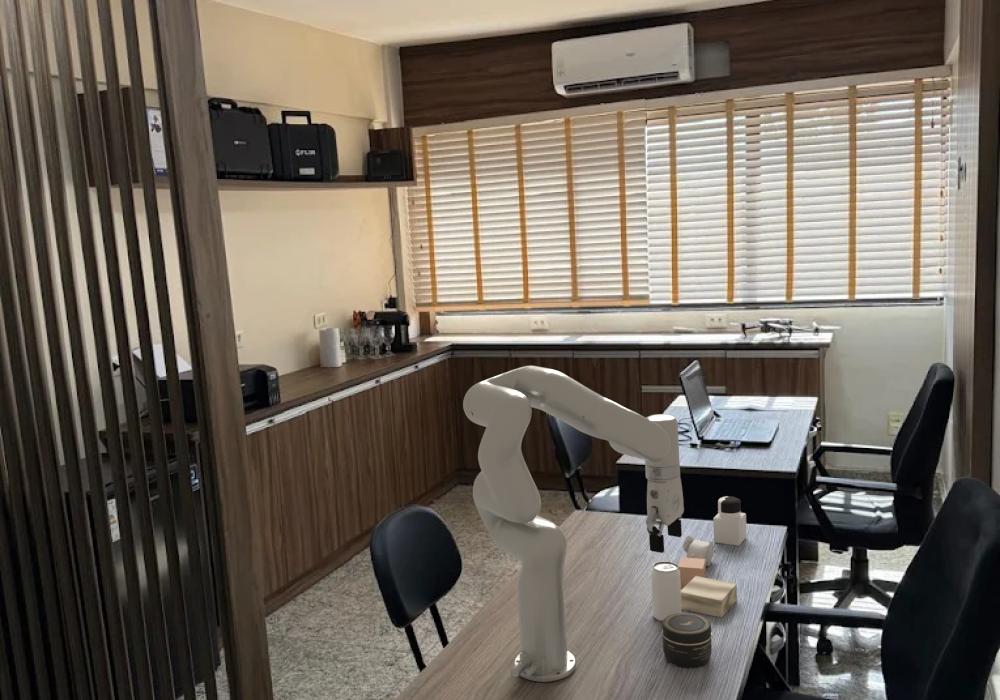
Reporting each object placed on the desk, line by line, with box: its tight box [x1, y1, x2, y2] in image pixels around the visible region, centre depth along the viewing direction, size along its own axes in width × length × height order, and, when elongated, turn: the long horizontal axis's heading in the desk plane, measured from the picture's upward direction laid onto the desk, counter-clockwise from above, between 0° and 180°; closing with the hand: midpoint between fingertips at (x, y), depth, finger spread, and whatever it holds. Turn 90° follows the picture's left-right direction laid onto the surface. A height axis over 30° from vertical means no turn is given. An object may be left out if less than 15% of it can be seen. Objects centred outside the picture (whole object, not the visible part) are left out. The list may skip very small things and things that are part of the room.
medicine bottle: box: [712, 495, 747, 547], centre depth 234 cm, size 7×7×12 cm
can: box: [650, 560, 682, 623], centre depth 192 cm, size 6×6×12 cm
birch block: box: [681, 576, 738, 618], centre depth 198 cm, size 10×10×4 cm
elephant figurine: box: [682, 535, 717, 567], centre depth 220 cm, size 8×10×7 cm
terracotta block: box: [677, 556, 707, 587], centre depth 210 cm, size 6×6×5 cm
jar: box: [661, 612, 713, 669], centre depth 174 cm, size 10×10×8 cm
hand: (666, 543), depth 191 cm, fingers open, 9 cm apart
